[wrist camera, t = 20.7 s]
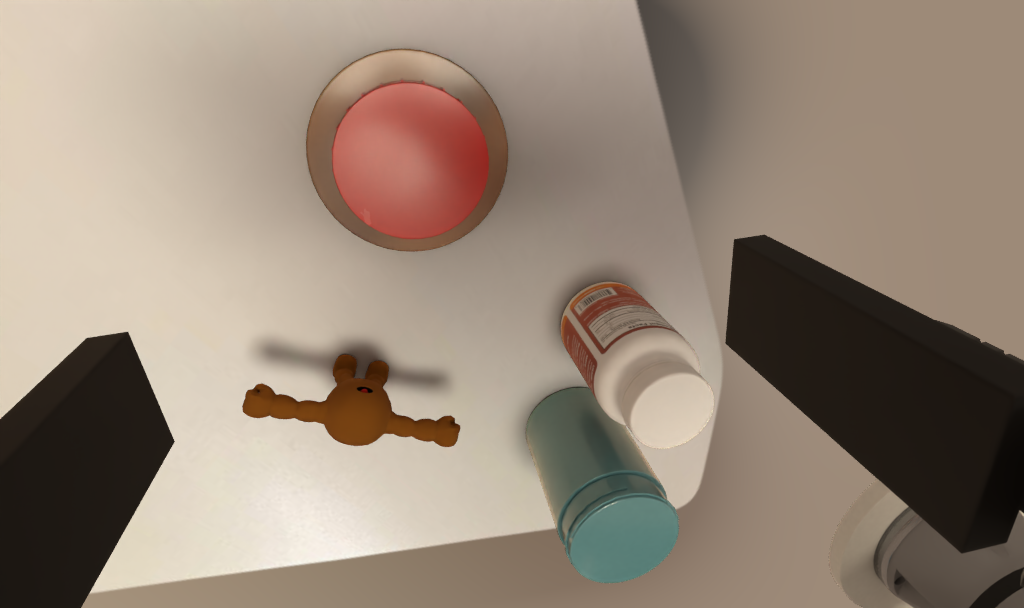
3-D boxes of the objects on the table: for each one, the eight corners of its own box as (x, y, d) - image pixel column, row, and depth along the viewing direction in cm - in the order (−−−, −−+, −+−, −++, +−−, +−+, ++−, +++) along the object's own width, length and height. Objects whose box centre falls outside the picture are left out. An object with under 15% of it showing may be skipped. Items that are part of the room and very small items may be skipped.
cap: (382, 45, 29) (381, 45, 27) (511, 135, 32) (519, 141, 30) (307, 180, 31) (301, 190, 29) (435, 252, 34) (438, 266, 32)
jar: (631, 399, 42) (703, 506, 33) (590, 472, 45) (647, 592, 35) (549, 376, 40) (600, 484, 30) (510, 454, 42) (546, 577, 33)
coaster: (536, 103, 32) (540, 104, 32) (461, 272, 36) (463, 276, 35) (346, 9, 29) (345, 8, 28) (282, 207, 32) (279, 211, 31)
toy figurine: (457, 361, 38) (470, 421, 32) (442, 406, 39) (451, 472, 33) (269, 323, 35) (244, 383, 29) (259, 375, 36) (232, 442, 30)
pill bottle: (617, 369, 41) (689, 472, 31) (543, 345, 39) (595, 447, 29) (659, 295, 39) (750, 380, 29) (583, 265, 37) (654, 346, 27)
